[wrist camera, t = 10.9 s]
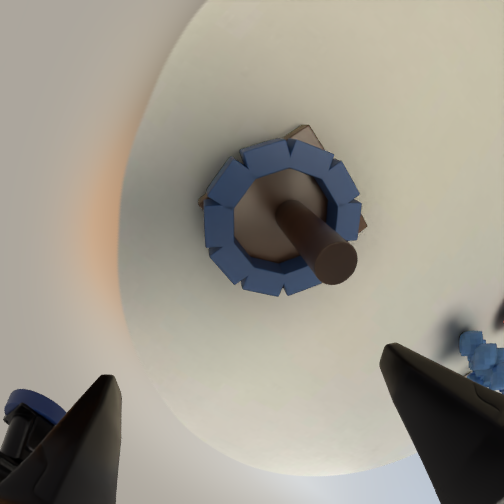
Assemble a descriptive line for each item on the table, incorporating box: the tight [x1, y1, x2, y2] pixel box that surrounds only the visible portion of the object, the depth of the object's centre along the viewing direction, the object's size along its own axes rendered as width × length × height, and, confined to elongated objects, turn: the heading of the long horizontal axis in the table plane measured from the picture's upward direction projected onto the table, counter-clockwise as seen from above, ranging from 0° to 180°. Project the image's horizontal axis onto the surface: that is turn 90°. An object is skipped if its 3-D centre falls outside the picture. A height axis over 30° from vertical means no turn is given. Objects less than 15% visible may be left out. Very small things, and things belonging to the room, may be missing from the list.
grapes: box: [459, 331, 504, 394], centre depth 24 cm, size 12×7×12 cm, turn 52°
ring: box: [203, 138, 362, 297], centre depth 18 cm, size 9×10×2 cm
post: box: [198, 125, 367, 288], centre depth 16 cm, size 8×8×8 cm
